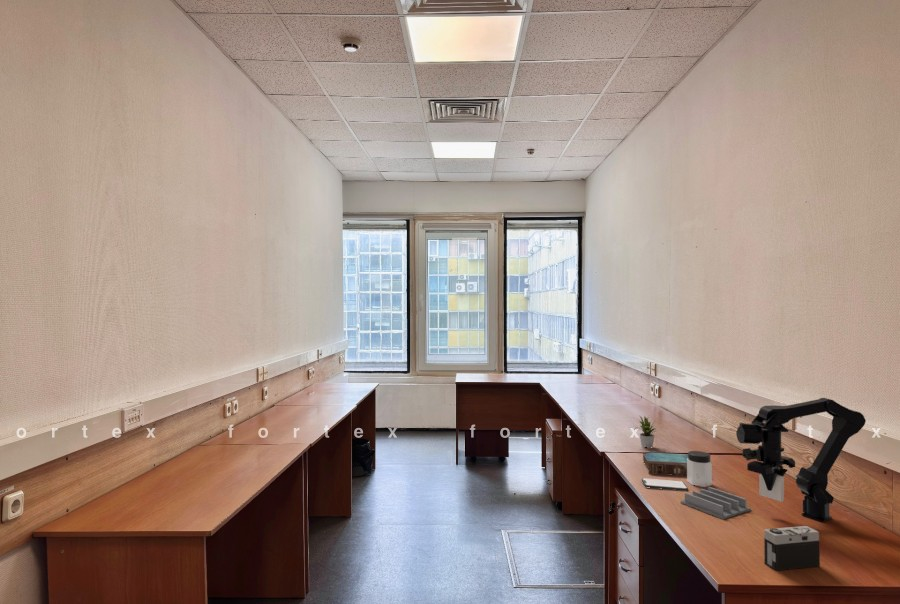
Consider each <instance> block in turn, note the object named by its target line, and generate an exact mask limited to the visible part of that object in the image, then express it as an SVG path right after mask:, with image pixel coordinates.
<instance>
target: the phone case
mask: <svg viewBox="0 0 900 604" xmlns="http://www.w3.org/2000/svg"><path fill="white" fill-rule="evenodd" d="M642 482H643V483H642ZM641 483H642V485H643V484H644V485H643V487H644V486H645V487H650V488H662V489H661V490H663V489H676V490H675V491H678V490H688V491H689V488H688V487H687V485H686V484H685V482H684V481H681V480H670V479H669V480H668V479H656V478H647V477H646V478H645V477H643V478H642V479H641ZM645 487H644V488H645Z"/></svg>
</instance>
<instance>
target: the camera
mask: <svg viewBox="0 0 900 604" xmlns="http://www.w3.org/2000/svg"><path fill="white" fill-rule="evenodd" d="M763 531H764V533H763V534H764V538H763V541H764V547H763V548H764V553H763V554H764V565H765V566H767V567H768V568H770V569H772V570H773V571H775V572H776V571H784V570H793V569H794V570H796V569H805V568H815V567H820V566H821V563H820V561H821V559H820V558H821V557H820V551H821V549H820V545H821V544H820V531H817V530H816V529H814V528H812V527H810V526H807V525H801V526H800V525H799V526H790V527H777V528H776V527H775V528H772V527H771V528H766V529H764V530H763Z"/></svg>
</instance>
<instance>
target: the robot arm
mask: <svg viewBox="0 0 900 604" xmlns="http://www.w3.org/2000/svg"><path fill="white" fill-rule="evenodd" d="M821 413H827V414H828V415H829V416H832V419H831V420H832V421H831V426H832V427H831V431H830V433H829V435H828V437H827V439H826V440H825V442H824V444H823V445H822V447H821V449H820V451H819V452H818V453H817V456H816V457H815V459H814V460H813V463H812V464H811V465H810V466H809V467H807V468H805V467H803V466H801V468H800V469H799V472H798V473H797V474H796V475H795V478H796V479H795V483H796V486H797V488H798V489H799V490H800V492H801V494H802V495H804V496H803V498H804V499H802V513H801V515H802V516H804V517H807V518H809V519H811V520H815V521H819V522H823V523H824V522H826V521H829V520H831V519H833V516H831V515H830V504H833V502H834V496H833V495H832V494H831V493H830V492H829V491H828V490H827V487H828V485H829V478H828V475H829V473H830V471H831V469H832V468H833V466H834V464H835V462H837V459H838V457H839V456H840V455H841V453H842V451H843V449H844V447H845V446H846V444H847V442H848V441H849V439H850V438H851V437H853V436H854V435H856V434H858V433H859V432H860V431H861V430H862V429H863V428H864V427H865V424H866V422H867V420H866V418H865V416H864V414H863V413H862V412H860V411H856V410H853V409H850V408H848V407H846V406H844V405H842V404H840V403H838V402H836V401H835V400H834V399H831V398H827V397H821V398H817V399H814V400H810V401H809V400H807V401H803V402H798V403H793V404H788V405H764V406H761V407H760V409H759V410H758V414H757V415H756V416H755V417H754V418H753V420H752V421H751V423H746V422H745V423H744V422H739V426H738V427H737V429H736V432H735V433H736V439H737V441H738V443H740V444H747V445H748V444H751V445H755V444H756V445H758V447H757V448H756V449H755V448H753V449H751V447H748V448H743V449H742V454H741V455H742V457H743V458H744V459H745V460H746V461H749V462H748V463H746V464H747V465H746V466H747V471H749V472H753V473H757V474H762V476H763V478H764V481H765V484H766V487H767V489H768V490H769V491H771V490H772V488H773V485H774V483H775V480H776V477H777V475H780V476H783V477H785V474H786V473H787V472H788V469H786V468H784V466H783V465H785V466H788V467H789V468H790V469H793V468H796V461H795V460H794V458H792V457H789V456H784V455H782V452H785V448H784V447H782V433H788V432H789V429H788V428H787V427H785V426H784V424H787V423H789V422H790V421H792V420H793V419H796V418H801V417H802V418H803V417H807V416H812V415H817V414H821ZM759 444H761V445H759ZM751 460H753V461H751Z"/></svg>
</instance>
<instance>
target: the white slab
mask: <svg viewBox="0 0 900 604" xmlns="http://www.w3.org/2000/svg"><path fill="white" fill-rule="evenodd" d="M758 474H759V473H758ZM758 476H759V477H758V478H759V479H758V482H759V486H758V489H759V490H758V492H759V493H758V495H759V496H762V497H765V498H769V499H772V500H775V501H777V502H781V503H782V502H784V501H785V476H780V475H777V477H776V480H775V483H774V485H773V488H772V490H771V491H769V490H768V489H767V487H766V484H765V481H764V478H763V476H762V474H759V475H758Z"/></svg>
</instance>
